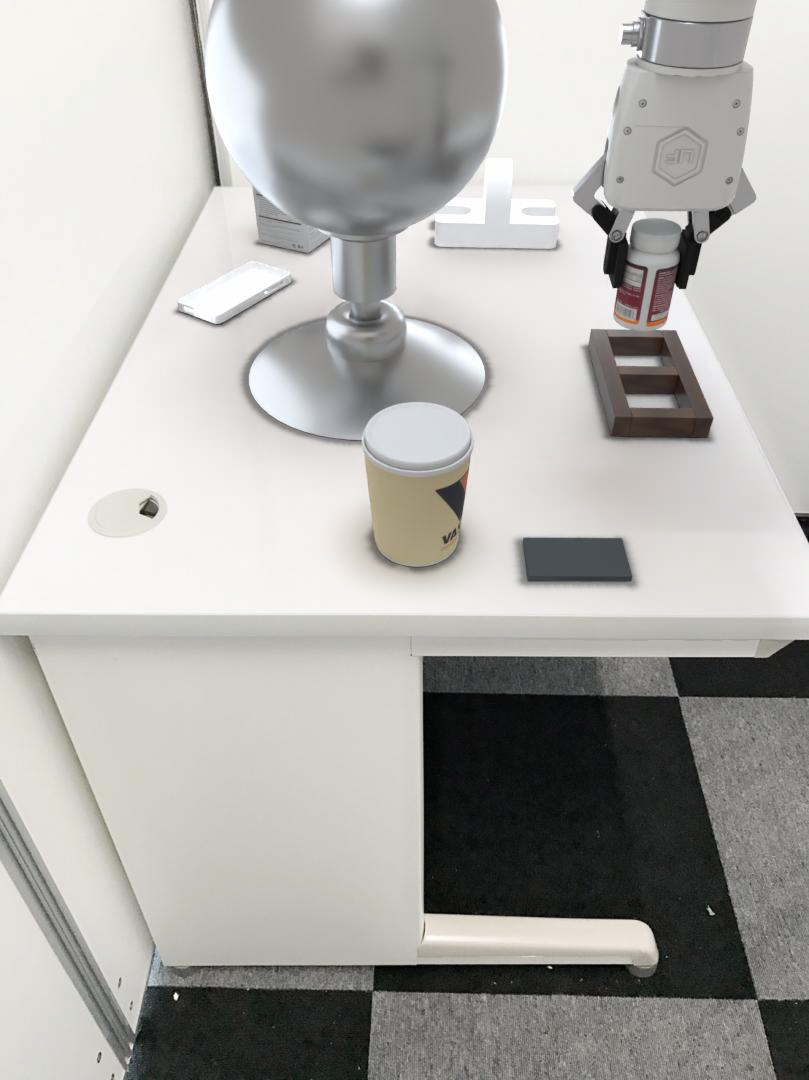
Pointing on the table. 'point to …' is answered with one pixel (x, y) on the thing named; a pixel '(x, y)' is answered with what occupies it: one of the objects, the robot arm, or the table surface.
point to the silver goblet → (358, 179)
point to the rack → (648, 384)
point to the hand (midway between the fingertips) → (646, 279)
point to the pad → (576, 559)
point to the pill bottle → (648, 275)
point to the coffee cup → (417, 480)
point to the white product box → (284, 228)
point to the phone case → (234, 292)
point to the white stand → (497, 216)
